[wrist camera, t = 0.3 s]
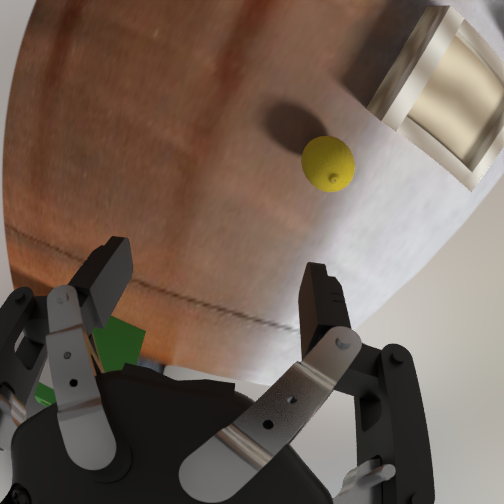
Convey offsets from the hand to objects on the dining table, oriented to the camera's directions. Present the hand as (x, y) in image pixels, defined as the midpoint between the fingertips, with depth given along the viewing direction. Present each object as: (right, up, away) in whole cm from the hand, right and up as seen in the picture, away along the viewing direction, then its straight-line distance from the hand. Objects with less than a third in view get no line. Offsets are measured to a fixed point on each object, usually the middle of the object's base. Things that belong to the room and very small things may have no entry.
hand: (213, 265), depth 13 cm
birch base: (+25, +20, +12) cm, 34 cm away
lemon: (+10, +13, +19) cm, 25 cm away
